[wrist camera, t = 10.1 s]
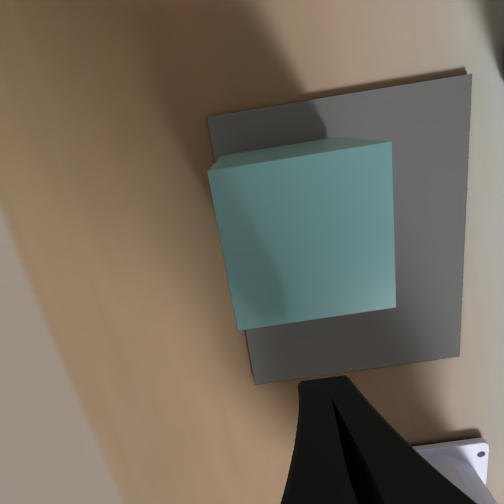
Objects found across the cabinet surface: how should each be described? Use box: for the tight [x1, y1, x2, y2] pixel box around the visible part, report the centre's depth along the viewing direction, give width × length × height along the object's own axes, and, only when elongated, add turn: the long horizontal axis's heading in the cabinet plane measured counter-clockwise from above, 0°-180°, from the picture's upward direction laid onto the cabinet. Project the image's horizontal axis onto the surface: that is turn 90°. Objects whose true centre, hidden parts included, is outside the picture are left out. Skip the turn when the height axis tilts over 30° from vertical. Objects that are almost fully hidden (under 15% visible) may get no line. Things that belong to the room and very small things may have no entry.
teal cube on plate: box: [207, 137, 396, 331], centre depth 14 cm, size 5×5×7 cm
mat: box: [207, 74, 472, 385], centre depth 19 cm, size 15×12×1 cm
